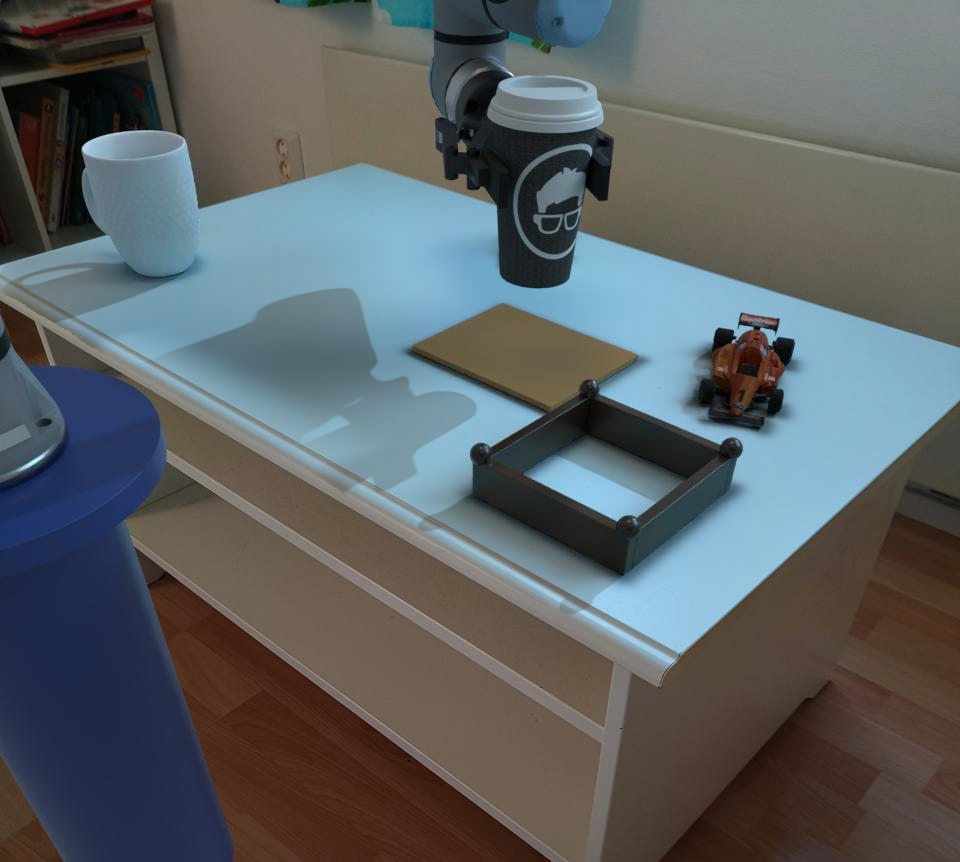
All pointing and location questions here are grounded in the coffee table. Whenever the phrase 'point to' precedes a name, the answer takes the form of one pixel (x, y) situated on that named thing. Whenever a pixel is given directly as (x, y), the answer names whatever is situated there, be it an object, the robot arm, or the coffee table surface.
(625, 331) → the coffee table surface
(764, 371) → the toy car
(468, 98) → the robot arm
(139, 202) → the mug
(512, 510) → the dark square frame
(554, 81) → the coffee cup
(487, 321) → the cork mat
